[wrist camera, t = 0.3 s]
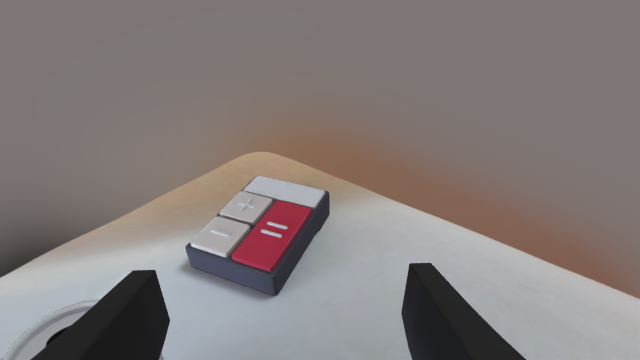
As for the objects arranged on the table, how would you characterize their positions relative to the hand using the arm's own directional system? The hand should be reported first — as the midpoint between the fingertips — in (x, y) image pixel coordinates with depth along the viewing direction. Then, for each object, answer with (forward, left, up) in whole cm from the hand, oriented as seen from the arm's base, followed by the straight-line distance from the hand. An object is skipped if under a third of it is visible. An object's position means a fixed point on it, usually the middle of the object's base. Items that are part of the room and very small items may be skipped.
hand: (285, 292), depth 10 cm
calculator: (+26, +3, -21) cm, 34 cm away
